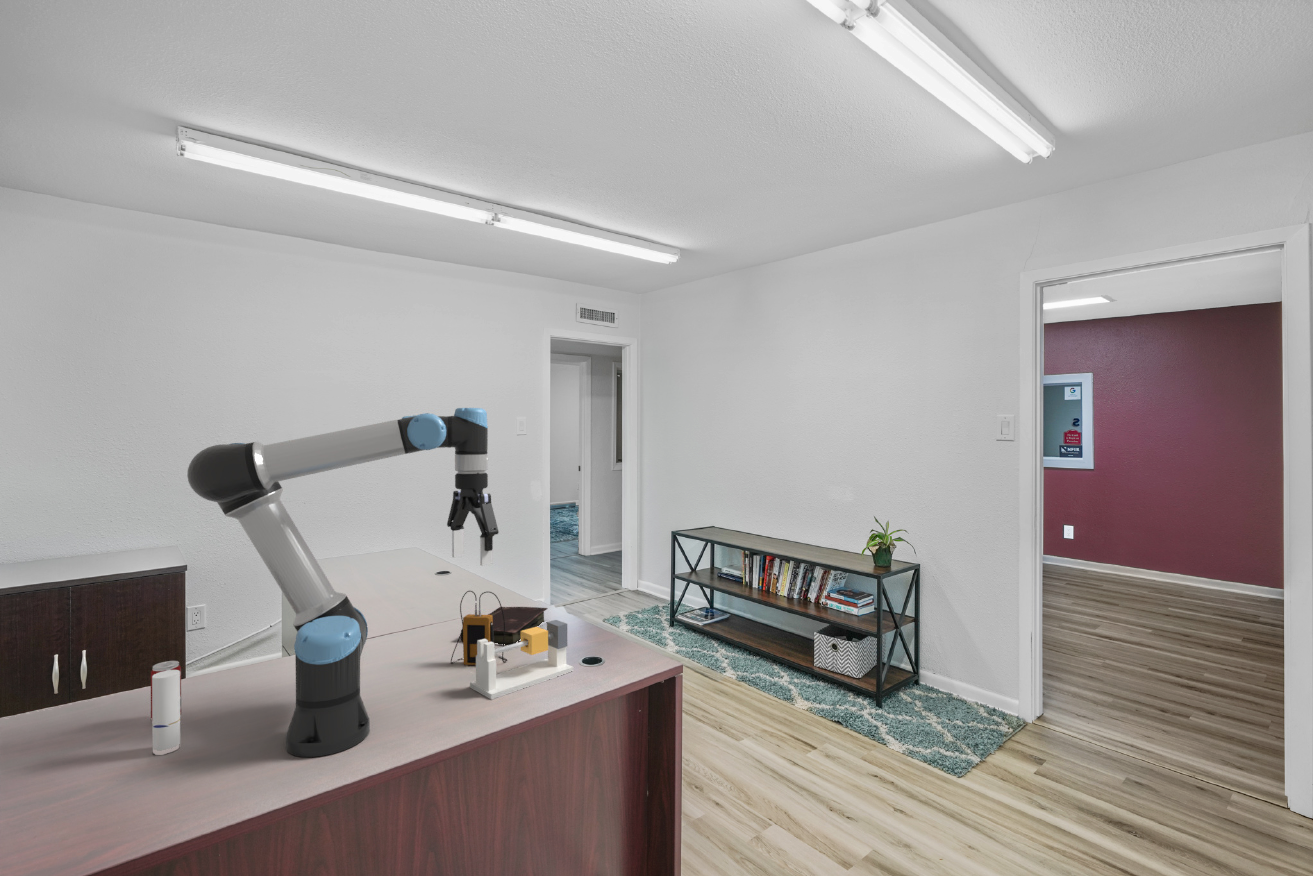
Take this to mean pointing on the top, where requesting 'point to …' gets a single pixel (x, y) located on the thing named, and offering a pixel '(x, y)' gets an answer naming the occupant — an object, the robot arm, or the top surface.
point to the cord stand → (524, 675)
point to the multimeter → (476, 632)
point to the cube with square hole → (535, 640)
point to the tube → (166, 709)
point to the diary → (514, 622)
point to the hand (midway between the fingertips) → (471, 560)
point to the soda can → (165, 667)
